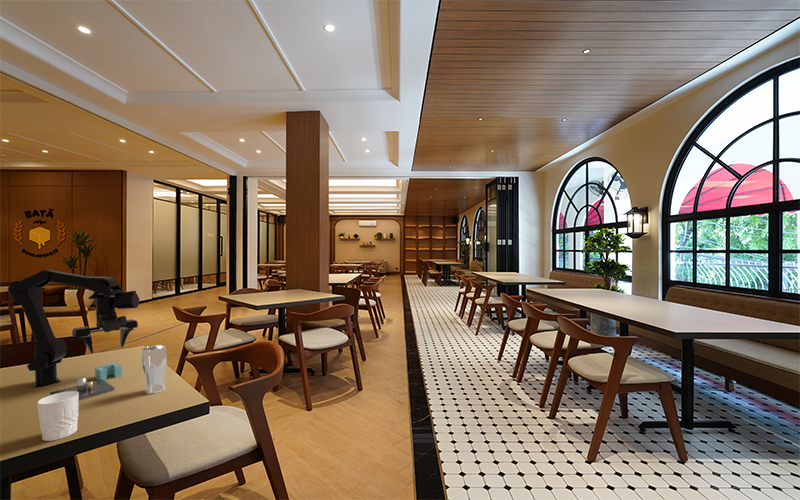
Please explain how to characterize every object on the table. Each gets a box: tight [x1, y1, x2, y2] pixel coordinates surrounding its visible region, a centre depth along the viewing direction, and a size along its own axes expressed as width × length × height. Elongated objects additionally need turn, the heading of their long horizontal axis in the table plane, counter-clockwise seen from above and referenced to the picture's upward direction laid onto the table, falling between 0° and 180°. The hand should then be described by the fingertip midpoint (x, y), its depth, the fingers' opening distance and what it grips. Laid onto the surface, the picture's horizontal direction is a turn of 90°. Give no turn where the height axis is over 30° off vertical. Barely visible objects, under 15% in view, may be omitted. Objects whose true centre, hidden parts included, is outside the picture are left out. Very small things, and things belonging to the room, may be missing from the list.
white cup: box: [36, 391, 80, 442], centre depth 93 cm, size 8×8×10 cm
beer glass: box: [141, 344, 168, 395], centre depth 120 cm, size 7×7×15 cm
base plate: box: [48, 376, 115, 401], centre depth 120 cm, size 14×14×5 cm
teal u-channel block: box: [94, 362, 123, 381], centre depth 134 cm, size 6×6×4 cm
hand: (107, 350), depth 134 cm, fingers open, 9 cm apart
